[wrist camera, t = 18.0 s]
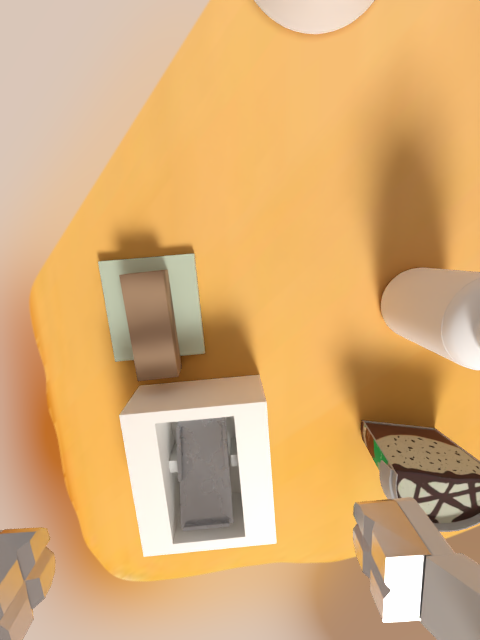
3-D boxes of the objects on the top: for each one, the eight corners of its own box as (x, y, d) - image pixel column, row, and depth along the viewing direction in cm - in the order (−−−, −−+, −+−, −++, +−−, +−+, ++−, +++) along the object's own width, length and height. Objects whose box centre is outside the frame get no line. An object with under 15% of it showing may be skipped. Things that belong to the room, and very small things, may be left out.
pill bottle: (364, 317, 36) (457, 360, 21) (403, 254, 35) (530, 253, 20) (421, 348, 37) (547, 409, 22) (460, 288, 36) (622, 310, 21)
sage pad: (101, 261, 34) (98, 261, 33) (194, 253, 34) (193, 253, 33) (117, 359, 36) (115, 361, 35) (205, 351, 36) (204, 353, 35)
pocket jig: (139, 385, 37) (119, 415, 30) (259, 374, 37) (266, 401, 30) (158, 505, 40) (143, 556, 33) (268, 494, 40) (276, 543, 33)
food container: (340, 463, 40) (376, 531, 30) (350, 418, 39) (391, 474, 29) (433, 472, 41) (499, 541, 31) (446, 429, 39) (518, 486, 30)
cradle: (178, 407, 37) (175, 407, 35) (225, 403, 37) (224, 402, 35) (183, 523, 34) (179, 531, 32) (233, 518, 34) (233, 526, 32)
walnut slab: (128, 273, 33) (119, 275, 31) (167, 269, 34) (162, 270, 31) (144, 371, 36) (137, 381, 33) (182, 367, 36) (178, 376, 33)
